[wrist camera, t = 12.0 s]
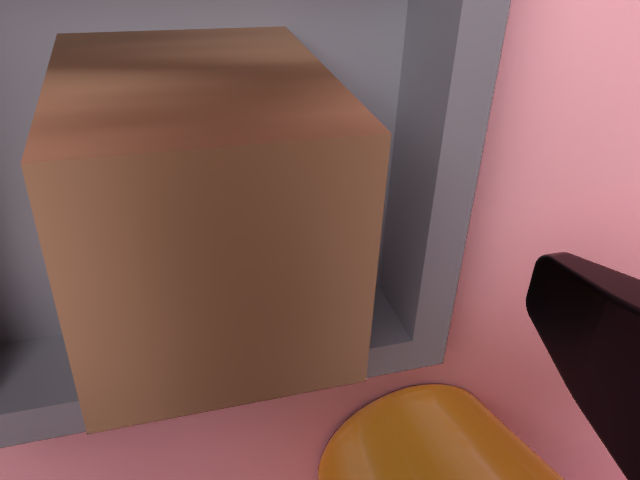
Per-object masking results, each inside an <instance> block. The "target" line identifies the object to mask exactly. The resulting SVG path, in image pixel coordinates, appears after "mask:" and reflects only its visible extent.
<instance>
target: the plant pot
mask: <svg viewBox="0 0 640 480" xmlns="http://www.w3.org/2000/svg"><path fill="white" fill-rule="evenodd" d="M318 480H565V479H564V478H562V477H561V476H560V475H559V474H558V473H557V472H556V471H555V470H554V469H552V468H551V467H550V466H549V465H548V464H547V463H546V462H545V461H544V460H542V459H541V458H540V457H539V456H538V455H537V454H536V453H535V452H534V451H533V450H531V449H530V448H529V447H528V446H527V445H526V444H525V443H524V442H523V441H522V440H520V439H519V438H518V437H517V436H516V435H515V434H514V433H513V432H512V431H511V430H510V429H508V428H507V427H506V426H505V425H504V424H503V423H502V422H501V421H500V420H499V419H498V418H496V417H495V416H494V415H493V414H492V413H491V412H490V411H489V410H488V409H487V408H486V407H485V406H484V405H483V404H482V403H481V402H480V401H479V400H477V399H476V398H475V397H474V396H473V395H472V394H470V393H469V392H467V391H465V390H463V389H461V388H458V387H455V386H450V385H444V384H424V385H417V386H411V387H407V388H403V389H400V390H397V391H395V392H392V393H389V394H387V395H385V396H382V397H380V398H378V399H376V400H375V401H373V402H371V403H369V404H368V405H366V406H364V407H363V408H361V409H360V410H359V411H357V412H356V413H355V414H353V415H352V416H351V417H350V418H349V419H347V420H346V421H345V422H344V423H343V424H342V425H341V426H340V427H339V429H338V430H337V431H336V432H335V433H334V435H333V436H332V438H331V439H330V441H329V442H328V444H327V446H326V448H325V450H324V452H323V454H322V457H321V460H320V464H319V469H318Z"/></svg>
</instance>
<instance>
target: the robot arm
mask: <svg viewBox="0 0 640 480" xmlns="http://www.w3.org/2000/svg"><path fill="white" fill-rule="evenodd" d="M526 307H527V311H528V314H529V316H530V318H531V320H532V322H533V324H534V326H535V328H536V330H537V331H538V333H539V335H540V337H541V339H542V341H543V343H544V345H545V347H546V348H547V350H548V352H549V354H550V356H551V358H552V360H553V362H554V364H555V365H556V367H557V369H558V371H559V373H560V375H561V377H562V379H563V380H564V382H565V384H566V386H567V388H568V389H569V391H570V393H571V395H572V396H573V398H574V400H575V401H576V403H577V404H578V406H579V408H580V409H581V411H582V412H583V414H584V415H585V417H586V418H587V420H588V421H589V423H590V424H591V426H592V427H593V429H594V430H595V432H596V433H597V435H598V436H599V438H600V439H601V441H602V442H603V444H604V445H605V447H606V448H607V450H608V451H609V453H610V454H611V456H612V457H613V459H614V460H615V462H616V463H617V465H618V466H619V468H620V469H621V471H622V472H623V474H624V475H625V477H626V478H627V480H640V280H639V279H636V278H634V277H631V276H628V275H626V274H623V273H620V272H618V271H615V270H612V269H610V268H607V267H604V266H602V265H599V264H596V263H594V262H591V261H589V260H586V259H583V258H581V257H578V256H575V255H573V254H570V253H566V252H560V253H553V254H547V255H543V256H541V257H539V258H538V260H537V261H536V263H535V266H534V270H533V274H532V278H531V281H530V285H529V289H528V293H527V297H526Z"/></svg>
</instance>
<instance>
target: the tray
mask: <svg viewBox="0 0 640 480" xmlns="http://www.w3.org/2000/svg"><path fill="white" fill-rule="evenodd" d="M510 3H511V0H0V448H4V447H9V446H14V445H19V444H24V443H30V442H35V441H40V440H45V439H51V438H56V437H61V436H66V435H71V434H77V433H82V432H86V428H85V424H84V419H83V415H82V411H81V407H80V403H79V399H78V395H77V391H76V387H75V383H74V379H73V375H72V371H71V367H70V363H69V359H68V355H67V351H66V346H65V342H64V338H63V334H62V330H61V326H60V322H59V318H58V314H57V310H56V306H55V302H54V298H53V294H52V290H51V286H50V282H49V278H48V273H47V269H46V265H45V261H44V257H43V253H42V249H41V245H40V241H39V237H38V233H37V229H36V225H35V221H34V217H33V213H32V209H31V205H30V201H29V196H28V192H27V188H26V184H25V180H24V176H23V172H22V168H21V164H20V163H21V159H22V156H23V152H24V149H25V145H26V142H27V138H28V135H29V131H30V128H31V124H32V120H33V117H34V113H35V110H36V106H37V103H38V99H39V96H40V92H41V89H42V85H43V82H44V78H45V74H46V71H47V67H48V64H49V60H50V57H51V53H52V50H53V46H54V43H55V39H56V35H57V33H89V32H121V31H152V30H184V29H216V28H247V27H279V26H285V27H286V28H287V29H288V30H289V31H290V32H291V33H292V34H293V35H294V36H295V37H296V38H297V39H298V40H299V41H300V42H301V43H302V44H303V45H304V46H305V47H306V48H307V49H308V50H309V51H310V52H311V53H312V54H313V55H314V56H315V57H316V58H317V59H318V60H319V61H320V62H321V63H322V64H323V65H324V66H325V67H326V68H327V69H328V70H329V71H330V72H331V73H332V74H333V75H334V76H335V77H336V78H337V79H338V80H339V81H340V82H341V83H342V84H343V85H344V86H345V87H346V88H347V89H348V90H349V91H350V92H351V93H352V94H353V95H354V96H355V97H356V98H357V99H358V100H359V101H360V102H361V103H362V104H363V105H364V106H365V107H366V108H367V109H368V110H369V111H370V112H371V113H372V114H373V115H374V116H375V117H376V118H377V119H378V120H379V121H380V122H381V123H382V124H383V125H384V126H385V127H386V128H387V129H388V130H389V131H390V132H391V133H392V134H391V143H390V153H389V163H388V172H387V182H386V192H385V201H384V211H383V221H382V231H381V240H380V250H379V260H378V269H377V279H376V289H375V298H374V308H373V318H372V327H371V337H370V347H369V356H368V366H367V376H366V378H369V377H375V376H380V375H385V374H390V373H395V372H401V371H406V370H411V369H416V368H422V367H427V366H432V365H437V364H442V363H443V360H444V355H445V350H446V344H447V339H448V334H449V328H450V323H451V318H452V312H453V307H454V302H455V296H456V291H457V285H458V280H459V275H460V269H461V264H462V259H463V253H464V248H465V243H466V237H467V232H468V227H469V221H470V216H471V211H472V205H473V200H474V195H475V189H476V184H477V179H478V173H479V168H480V163H481V157H482V152H483V147H484V141H485V136H486V131H487V125H488V120H489V115H490V109H491V104H492V99H493V93H494V88H495V83H496V77H497V72H498V67H499V61H500V56H501V51H502V45H503V40H504V35H505V29H506V24H507V19H508V13H509V8H510Z"/></svg>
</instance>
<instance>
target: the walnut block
mask: <svg viewBox="0 0 640 480" xmlns="http://www.w3.org/2000/svg"><path fill="white" fill-rule="evenodd" d="M391 134H392V133H391V132H390V131H389V130H388V129H387V128H386V127H385V126H384V125H383V124H382V123H381V122H380V121H379V120H378V119H377V118H376V117H375V116H374V115H373V114H372V113H371V112H370V111H369V110H368V109H367V108H366V107H365V106H364V105H363V104H362V103H361V102H360V101H359V100H358V99H357V98H356V97H355V96H354V95H353V94H352V93H351V92H350V91H349V90H348V89H347V88H346V87H345V86H344V85H343V84H342V83H341V82H340V81H339V80H338V79H337V78H336V77H335V76H334V75H333V74H332V73H331V72H330V71H329V70H328V69H327V68H326V67H325V66H324V65H323V64H322V63H321V62H320V61H319V60H318V59H317V58H316V57H315V56H314V55H313V54H312V53H311V52H310V51H309V50H308V49H307V48H306V47H305V46H304V45H303V44H302V43H301V42H300V41H299V40H298V39H297V38H296V37H295V36H294V35H293V34H292V33H291V32H290V31H289V30H288V29H287V28H286V27H285V26H279V27H247V28H216V29H184V30H152V31H121V32H89V33H57V35H56V39H55V43H54V46H53V50H52V53H51V57H50V60H49V64H48V67H47V71H46V74H45V78H44V82H43V85H42V89H41V92H40V96H39V99H38V103H37V106H36V110H35V113H34V117H33V120H32V124H31V128H30V131H29V135H28V138H27V142H26V145H25V149H24V152H23V156H22V159H21V163H20V164H21V168H22V172H23V176H24V180H25V184H26V188H27V192H28V196H29V201H30V205H31V209H32V213H33V217H34V221H35V225H36V229H37V233H38V237H39V241H40V245H41V249H42V253H43V257H44V261H45V265H46V269H47V273H48V278H49V282H50V286H51V290H52V294H53V298H54V302H55V306H56V310H57V314H58V318H59V322H60V326H61V330H62V334H63V338H64V342H65V346H66V351H67V355H68V359H69V363H70V367H71V371H72V375H73V379H74V383H75V387H76V391H77V395H78V399H79V403H80V407H81V411H82V415H83V419H84V424H85V428H86V432H87V434H91V433H97V432H102V431H107V430H112V429H118V428H123V427H128V426H133V425H139V424H144V423H149V422H155V421H160V420H165V419H170V418H176V417H181V416H186V415H191V414H197V413H202V412H207V411H212V410H218V409H223V408H228V407H233V406H239V405H244V404H249V403H254V402H260V401H265V400H270V399H275V398H281V397H286V396H291V395H296V394H302V393H307V392H312V391H317V390H323V389H328V388H333V387H339V386H344V385H349V384H354V383H360V382H365V381H366V376H367V366H368V356H369V347H370V337H371V327H372V318H373V308H374V298H375V289H376V279H377V269H378V260H379V250H380V240H381V231H382V221H383V211H384V201H385V192H386V182H387V172H388V163H389V153H390V143H391Z"/></svg>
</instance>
